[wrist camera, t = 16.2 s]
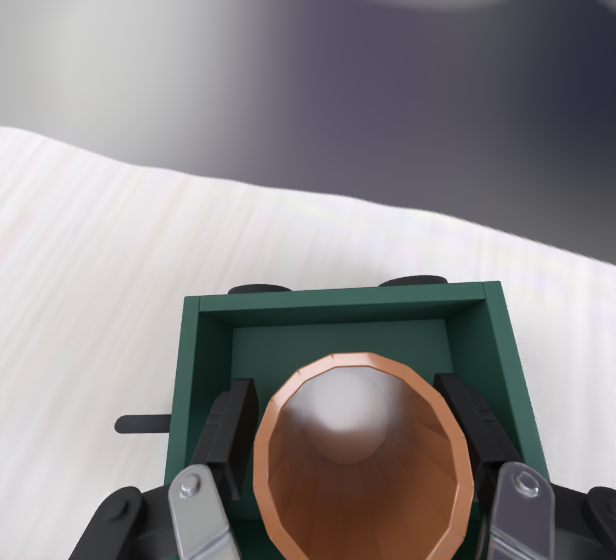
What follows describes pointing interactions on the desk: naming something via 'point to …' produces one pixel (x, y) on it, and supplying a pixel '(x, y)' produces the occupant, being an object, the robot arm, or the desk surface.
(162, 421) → the cart wheels
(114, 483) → the desk surface
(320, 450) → the orange cup
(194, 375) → the cart
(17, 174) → the desk surface
